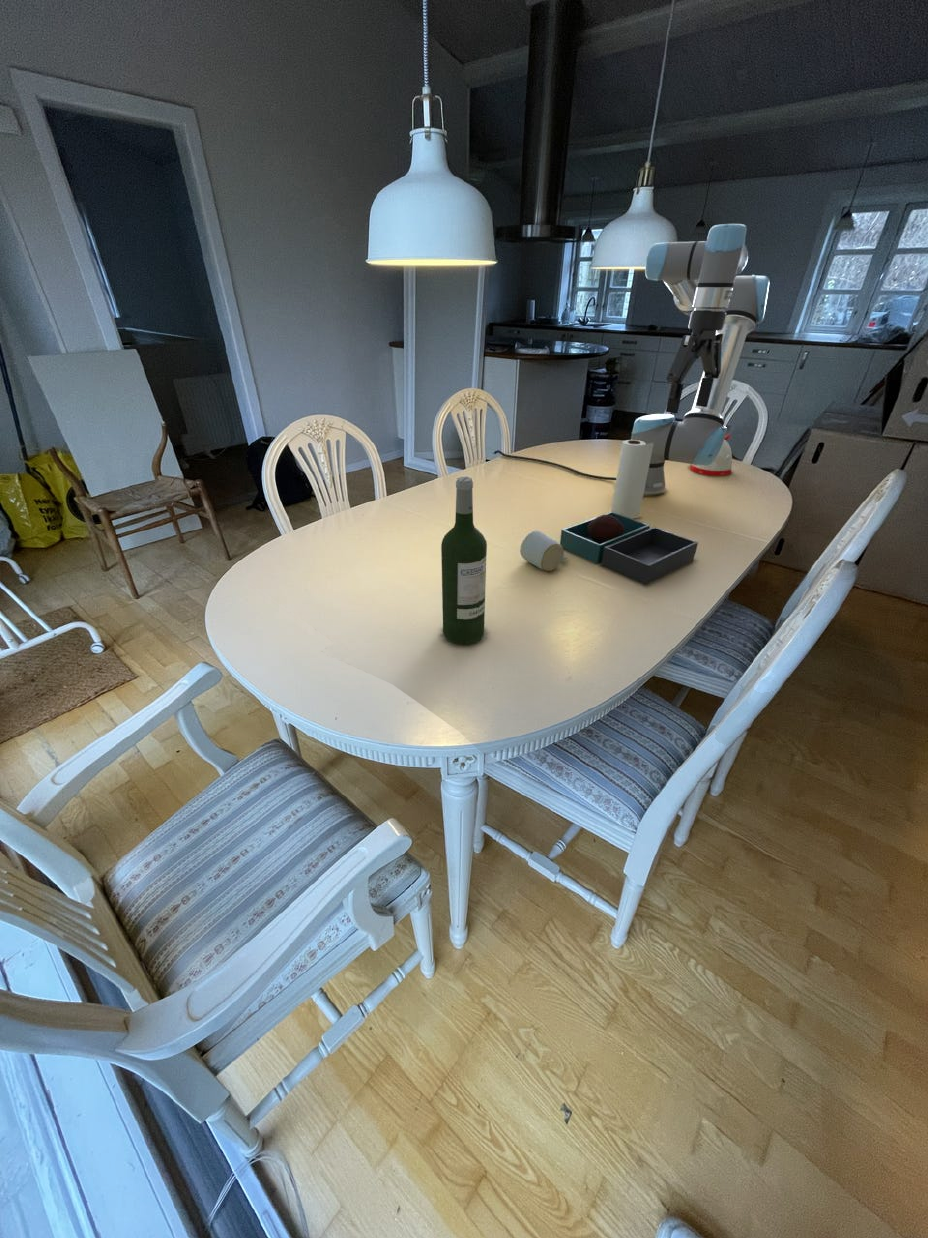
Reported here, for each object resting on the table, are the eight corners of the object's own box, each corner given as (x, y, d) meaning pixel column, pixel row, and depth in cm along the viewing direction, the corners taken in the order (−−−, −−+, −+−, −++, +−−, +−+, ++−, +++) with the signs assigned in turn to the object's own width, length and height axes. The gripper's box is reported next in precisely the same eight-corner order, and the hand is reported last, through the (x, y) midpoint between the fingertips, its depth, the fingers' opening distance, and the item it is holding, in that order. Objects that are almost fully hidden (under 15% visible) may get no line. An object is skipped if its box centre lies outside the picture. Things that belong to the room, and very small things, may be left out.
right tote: (601, 565, 122) (604, 547, 119) (650, 544, 132) (654, 526, 130) (644, 585, 114) (649, 565, 111) (693, 560, 124) (698, 542, 122)
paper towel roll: (606, 516, 148) (618, 441, 137) (616, 511, 152) (629, 437, 140) (628, 523, 144) (643, 446, 133) (638, 517, 148) (653, 442, 136)
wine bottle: (470, 650, 93) (472, 490, 76) (434, 637, 96) (430, 481, 80) (491, 630, 98) (498, 476, 82) (457, 618, 102) (457, 468, 86)
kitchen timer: (683, 465, 193) (693, 423, 185) (717, 464, 195) (728, 423, 187) (701, 476, 182) (712, 432, 174) (737, 474, 183) (750, 431, 175)
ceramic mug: (541, 576, 117) (545, 545, 113) (518, 563, 122) (521, 533, 118) (574, 565, 122) (578, 535, 118) (550, 553, 128) (554, 524, 124)
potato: (620, 552, 127) (625, 523, 123) (583, 547, 130) (587, 518, 126) (623, 540, 133) (628, 512, 129) (587, 535, 136) (591, 507, 132)
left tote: (559, 547, 130) (561, 529, 128) (608, 528, 141) (611, 511, 138) (597, 564, 122) (600, 545, 120) (646, 542, 133) (650, 525, 130)
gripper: (695, 311, 106) (672, 417, 118) (752, 309, 120) (726, 405, 131) (663, 310, 111) (644, 412, 123) (721, 308, 125) (699, 401, 136)
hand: (686, 409), depth 127 cm, fingers open, 13 cm apart
